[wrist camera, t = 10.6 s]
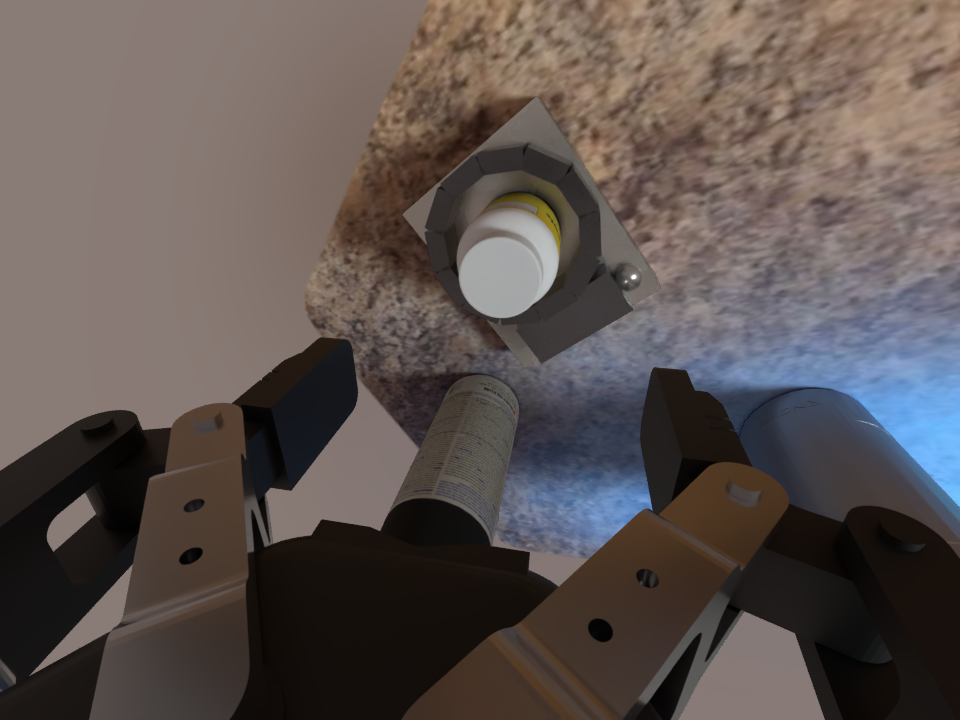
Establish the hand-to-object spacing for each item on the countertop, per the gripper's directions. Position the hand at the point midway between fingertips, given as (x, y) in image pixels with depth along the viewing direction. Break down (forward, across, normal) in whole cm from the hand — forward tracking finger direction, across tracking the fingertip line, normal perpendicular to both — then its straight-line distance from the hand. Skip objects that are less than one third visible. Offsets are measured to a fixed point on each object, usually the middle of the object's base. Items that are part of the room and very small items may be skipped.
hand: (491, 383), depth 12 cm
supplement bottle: (+20, +2, 0) cm, 20 cm away
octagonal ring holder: (+23, +1, +2) cm, 23 cm away
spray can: (+24, +5, +16) cm, 29 cm away
